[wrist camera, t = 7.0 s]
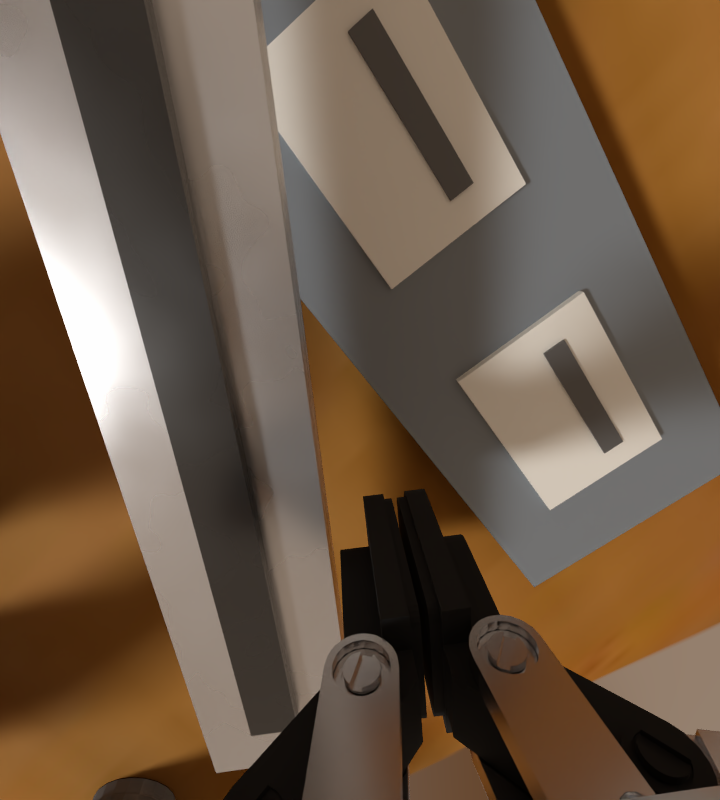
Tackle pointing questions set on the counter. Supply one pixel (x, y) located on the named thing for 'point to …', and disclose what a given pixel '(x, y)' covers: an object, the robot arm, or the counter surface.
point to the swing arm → (185, 329)
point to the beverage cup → (134, 790)
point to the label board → (486, 266)
